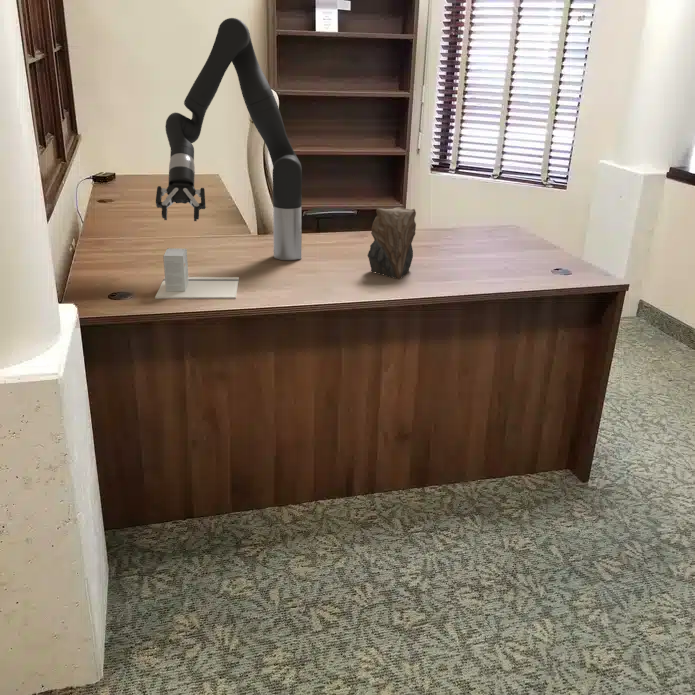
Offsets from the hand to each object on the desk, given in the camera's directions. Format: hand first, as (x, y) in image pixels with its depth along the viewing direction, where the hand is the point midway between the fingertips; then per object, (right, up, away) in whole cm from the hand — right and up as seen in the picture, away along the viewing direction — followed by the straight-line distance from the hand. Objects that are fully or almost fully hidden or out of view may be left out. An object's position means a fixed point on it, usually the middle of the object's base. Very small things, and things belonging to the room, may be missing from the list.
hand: (180, 219), depth 201 cm
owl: (+63, -14, +18) cm, 67 cm away
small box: (0, -20, -3) cm, 21 cm away
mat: (+6, -20, -2) cm, 21 cm away
